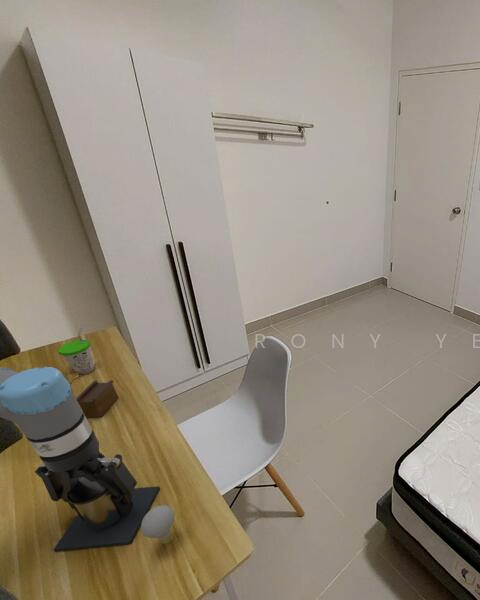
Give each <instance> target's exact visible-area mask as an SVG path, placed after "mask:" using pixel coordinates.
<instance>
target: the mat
mask: <svg viewBox="0 0 480 600" xmlns="http://www.w3.org/2000/svg"><path fill="white" fill-rule="evenodd" d="M160 490H161V487H160V486H159V485H158V486H157V485H156V486H146V487H144V486H143V487H135V488H134V489H133V491H132V493H131V495H132V499H131V500H132V502H133V504H134V505H133V506H132V508H131V510H130V512H129V513H128V515H127V517H121V518H120V519H119V520H118V521H117V522H115V523H114V524H112V525H110V526H109V527H106V528H103V529H99V530H94V529H91V528H90V527H89V526H88V525H87V523H86V522H85V521H82V519H81V518H80V516H79V515H78V514H77V515H76V516H75V517H74V519H73V521H72V522H71V523H70V525H69V526H68V528H67V529H66V530H65V531H64V533H63V535H62V536H61V538H60V539H59V541H58V542H57V543H56V544H55V546H54V548H53V549H52V550H53V552H54V553H59V552H70V551H79V550H89V549H98V548H108V547H117V546H128V545H132V543H133V541H134V540H135V538H136V537H137V534H138V532H139V530H140V529H141V523H142V520H143V518H144V516H145V515H146V514H147V513H148V512H149V511H150V510H151V507H152V505H153V504H154V502H155V499H156V497H157V496H158V494H159V493H160Z"/></svg>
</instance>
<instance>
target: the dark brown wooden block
mask: <svg viewBox="0 0 480 600" xmlns="http://www.w3.org/2000/svg"><path fill="white" fill-rule="evenodd" d="M76 399H77V401H78V403H79V406H80V408H81V410H82V412H83V413H84V415H85V417H86V419H98V418H99V419H101V418H103V417H104V415H105V414H106V413H107V412H108V411H109V410H110V408H111V407H112V406H113V405H114V404H115V403H116V402H117V401H118V399H119V396H118V393H117V391H116V389H115V387H114V380H113V379H110V380H109V381H107V382H98V380H93V381H92V382H91V383H90V384H89V385H88V386H86V388H84V390H83V391H81V392H80V394H79V395H78V396H77V397H76Z"/></svg>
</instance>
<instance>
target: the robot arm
mask: <svg viewBox="0 0 480 600" xmlns="http://www.w3.org/2000/svg"><path fill="white" fill-rule="evenodd" d="M76 398H77V397H76V396H75V393H74V391H73V390H72V386H71V383H70V382H69V381H68V380H67V379H66V377H65V376H64V374H63V373H62V371H60V369H57V368H55V367H52V366H43V367H32V368H29V369H25V370H22V371H17V370H15V369H12V368H7V367H0V419H1V420H5V421H10V422H12V423H14V424H16V425H17V426H18V428H19V429H20V431H21V432H22V434H24V436H25V438H26V440H28V441H29V443H30V445H31V446H32V448H33V449H34V450H35V452H36V454H37V455H38V456H39V459H40V460H41V462H42V463H41V464H40V465H39V466H38V467H37V468H36V470H34V473H35V474H36V475H37V476H38V477H39V478H41V481H42V482H43V485H44V486H45V489H46V491H47V493H48V495H49V497H50V500H51V501H53V502H58V501H59V500H62V501H63V502H64V503H67V504H68V505H69V507H70V508H71V509H73V510H74V511H75V512H76V513H77V515H79V516H80V518H81V519H82V521H85V520H84V519H83V517H82V516H81V514H80V513H79V511H78V510H77V508H76V507H75V505H74V504H72V503H70V502H69V500H68V498H67V494H68V492H71V490H72V489H73V488H74V486H75V485H76V484H77V483H78V481H79V478H80V477H85V478H86V479H88V480H89V481H90V482H94V481H95V482H97V483H98V484H99V485H101V486H102V487H103V488H105V489H108V490H109V492H110V493H111V494H113V495H114V498H113V501H114V503H115V505H116V507H117V508H118V510H119V512H120V514H121V515H122V517H127V515H128V513H129V512H130V510H131V508H132V506H133V505H134V504H133V502H132V500H131V499H132V495H131V493H132V491H133V489H134V488H136V486H137V485H138V481H137V480H136V478H135V477H134V476H133V474H132V473H131V471H130V470H129V469H128V467H127V466H126V464H125V463H124V461H123V455H121V454H115V455H114V456H113V457H106V455H104V454H103V453H102V452H100V441H99V439H98V437H97V436H96V434H95V432H94V430H93V428H92V426H91V424H90V423H89V421H88V418H86V416H85V414H84V413H83V411H82V409H81V407H80V405H79V403H78V401H77V399H76Z"/></svg>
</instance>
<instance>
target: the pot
mask: <svg viewBox="0 0 480 600" xmlns="http://www.w3.org/2000/svg"><path fill="white" fill-rule="evenodd" d="M67 498H68V500H69V502H70V503H72V504H74V505H75V507H76V508H77V510H78V511H79V513H80V514H81V516H82V517H83V519H84V520H85V522H86V523H87V525H88V526H89V527H90V528H91V529H94V530H99V529H103V528H106V527H109V526H110V525H112V524H114V523H115V522H117V521H118V520H119V519H120V518H121V517H122V515H121V514H120V512H119V510H118V508H117V507H116V505H115V503H114V501H113V498H114V495H113V494H111V493H110V492H109V490H108V489H105V488H103V487H102V486H101V485H99V484H98V483H97V482H95V481H94V482H90V481H89V480H88V479H86V478H85V477H80V478H79V481H78V483H77V484H76V485H75V486H74V488H73V489H72V490H71V492H68V494H67Z"/></svg>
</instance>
